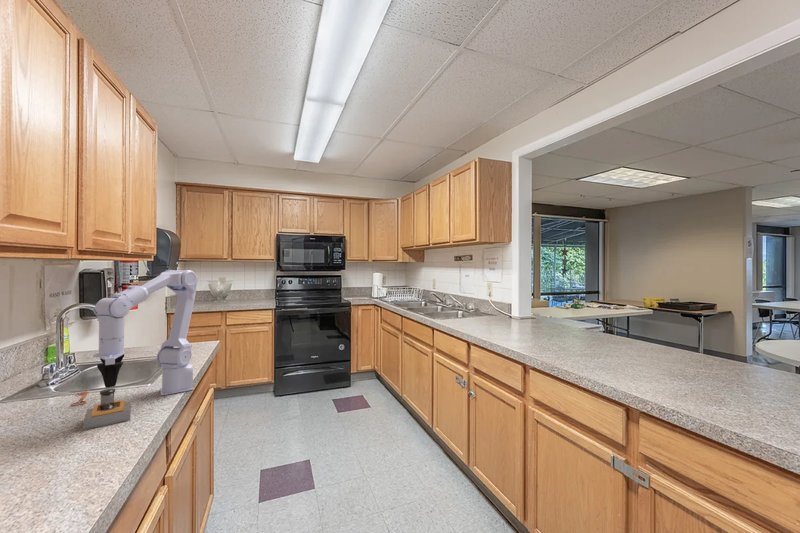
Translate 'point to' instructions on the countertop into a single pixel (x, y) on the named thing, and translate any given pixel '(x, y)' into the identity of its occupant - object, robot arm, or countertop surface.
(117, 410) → the chuck block
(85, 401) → the key
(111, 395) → the peg
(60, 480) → the countertop surface
